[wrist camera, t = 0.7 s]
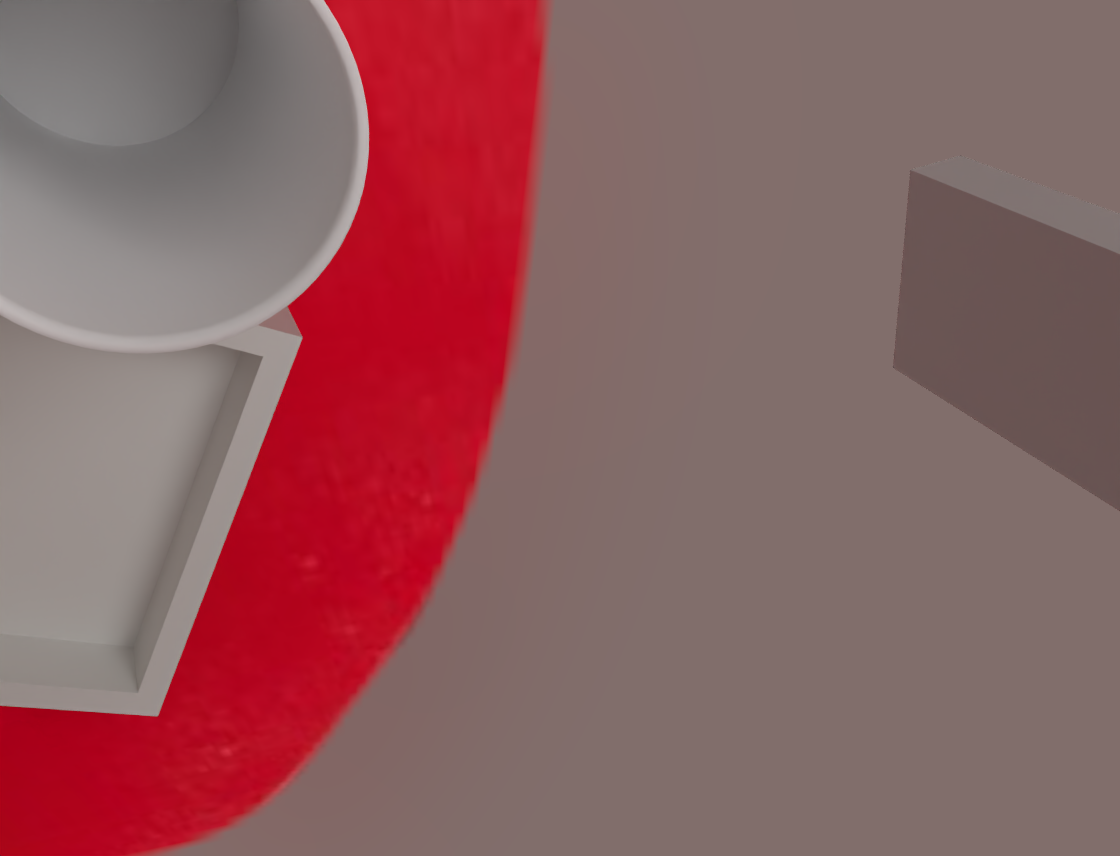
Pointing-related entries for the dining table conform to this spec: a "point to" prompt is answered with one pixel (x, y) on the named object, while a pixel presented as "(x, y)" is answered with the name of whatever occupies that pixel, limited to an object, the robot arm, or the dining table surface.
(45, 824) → the dining table surface
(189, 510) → the tray
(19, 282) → the cup
